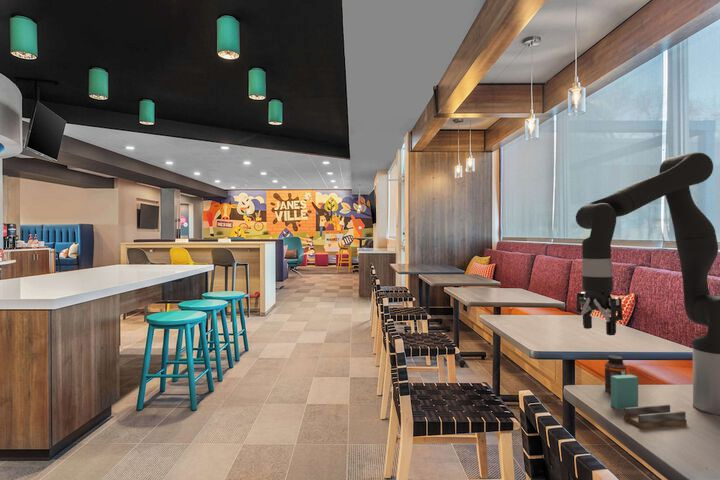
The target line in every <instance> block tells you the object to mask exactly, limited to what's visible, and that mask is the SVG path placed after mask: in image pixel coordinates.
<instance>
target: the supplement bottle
mask: <svg viewBox="0 0 720 480" xmlns="http://www.w3.org/2000/svg"><path fill="white" fill-rule="evenodd" d="M607 358H608V361H605V363H604V388H605V390H606V391H607V392H609V393H611V376H616V375H627V366H626V364H625V363H624V359H623V356H620V355H619V356H618V355H614V354H613V355H611V354H610V355H608V357H607Z"/></svg>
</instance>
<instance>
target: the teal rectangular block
mask: <svg viewBox="0 0 720 480" xmlns="http://www.w3.org/2000/svg"><path fill="white" fill-rule="evenodd" d="M610 407H612V408H614V409H616V410H625V408H630V407H639V376H636V375H633V374H626V375H616V376H611V392H610Z"/></svg>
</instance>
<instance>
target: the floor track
mask: <svg viewBox="0 0 720 480" xmlns="http://www.w3.org/2000/svg"><path fill="white" fill-rule="evenodd" d="M686 412H687V411H684V410H681V411H671V405H670V404H658V405H657V404H656V405H647V406H646V405H645V406H644V405H643V406H638V407H630V408H625V409H624V414H623V421H627V422H628V423H630V424H632V425H633V426H635V427H638V428H639V429H650V428H653V429H654V428H660V427H673V426H674V427H675V426H682V425H683V426H684V425H685V426H686V425H687V424H688V423H687V422H688V420H687V419H686Z"/></svg>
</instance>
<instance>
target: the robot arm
mask: <svg viewBox="0 0 720 480" xmlns="http://www.w3.org/2000/svg"><path fill="white" fill-rule="evenodd" d="M713 171H714V162H713V161H712V158H711V157H710V156H709V155H708V154H706V153H703V152H698V151H697V152H696V151H695V152H688V153H684V154H680V155H675V156H671V157H669V158H666V159H665V160H663V161H662V162H661V164H660V166H659V173H658V174H657V175H653V176H651V177H647V178H646V179H643V180H640V181H636V182H634V183H632V184H629V185H627V186H625V187H623V188H621V189H619V190H617V191H615V192H613V193H612V194H609V195H608V196H605V197H603V198H600V199H597V200H594V201H592V202H589V203H586V204H584V205H583V206H581V207H580V208H579V209H578V211H577V212H576V214H575V222H576V224H577V225H578V226H579V227H580V228H582V229H585V230H590V235H589V236H588V237H586V238H584V239H583V240H582V243H581V252H582V253H581V254H582V258H581V259H582V260H581V261H582V262H581V282H582V283H581V284H582V285H581V286H582V287H581V289H582V291H580V292H579V291H578V292H577V293H576V312H577V313H580V314H581V316H582V327H583V328H584V329H586V330H591V329H592V328H593V317H592V313H593V312H594V311H597V312H600V314H601V315H603V316H604V319H605V320H606V322H605V329H606V331H605V332H606V335H607V336H615V335H616V333H617V321H618V322H619V321H623V319H624V316H623V306H622V305H623V304H622V299H621V297H612V295H611V293H612V292H613V291H614V270H613V268H614V267H613V263H612V245H611V244H612V240H613V237H614V233H615V229H616V224H617V218H618V217H619V218H620V217H624V216H626V215H627V216H628V215H629V214H631V213H632V212H633V213H634V211H637V210H638V209H641V208H642V207H644V206H646V205H648V204H650V203H652V202H654V201H656V200H658V199H660V198H663V197H665V199H666V202H667V205H668V210H669V213H670V218H671V222H672V227H673V233H674V240H675V245H676V249H677V253H678V259H679V265H680V270H681V277H682V286H683V287H682V288H683V303H684V311H685V314H686V316H687V318H688V319H689V321H691V322H692V323H694V324H697V325H700V326H705V327H707V334H705V335H704V336H698V337H697V336H696V337H694V338H693V339H692V406H693V407H694V408H695V409H698V410H700V411H702V412H706V413H709V414H712V415H717V416H720V295H712V294H711V293H710V289H709V285H708V284H709V283H708V276H709V273H710V270H711V268H712V266H714V265H713V264H714V263H715V261H716V258H717V256H718V253H719V244H718V243H719V242H718V239H717V234H716V229H715V227H714V225H713V223H712V222H711V221H710V220H709V218H708V217H707V216H706V215H705V214H704V213H703V212H702V211H701V209H700V208H699V207H698V205H696V203H695V201H694V199H693V197H692V193H691V189H690V187H691V186H694V185H695V186H696V185H698V184H701V183H704V182H705V181H706V180H708V179H709V178H710V177H711V176H712V174H713Z"/></svg>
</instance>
